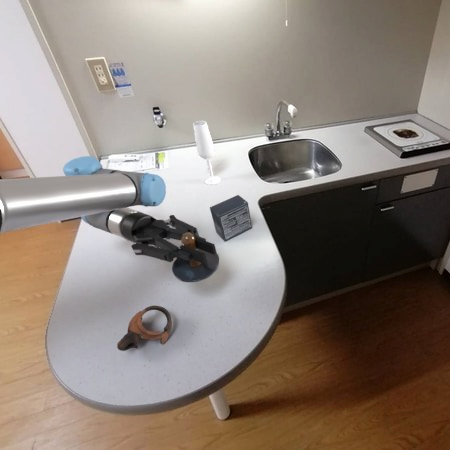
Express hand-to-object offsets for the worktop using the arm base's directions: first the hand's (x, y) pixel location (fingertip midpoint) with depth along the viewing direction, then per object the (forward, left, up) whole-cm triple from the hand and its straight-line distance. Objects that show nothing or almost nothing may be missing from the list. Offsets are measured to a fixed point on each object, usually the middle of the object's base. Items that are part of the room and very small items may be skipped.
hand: (209, 254), depth 68 cm
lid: (-2, +5, -6) cm, 8 cm away
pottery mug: (-19, +2, -18) cm, 26 cm away
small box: (+16, +23, -18) cm, 33 cm away
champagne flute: (+24, +56, -18) cm, 64 cm away
